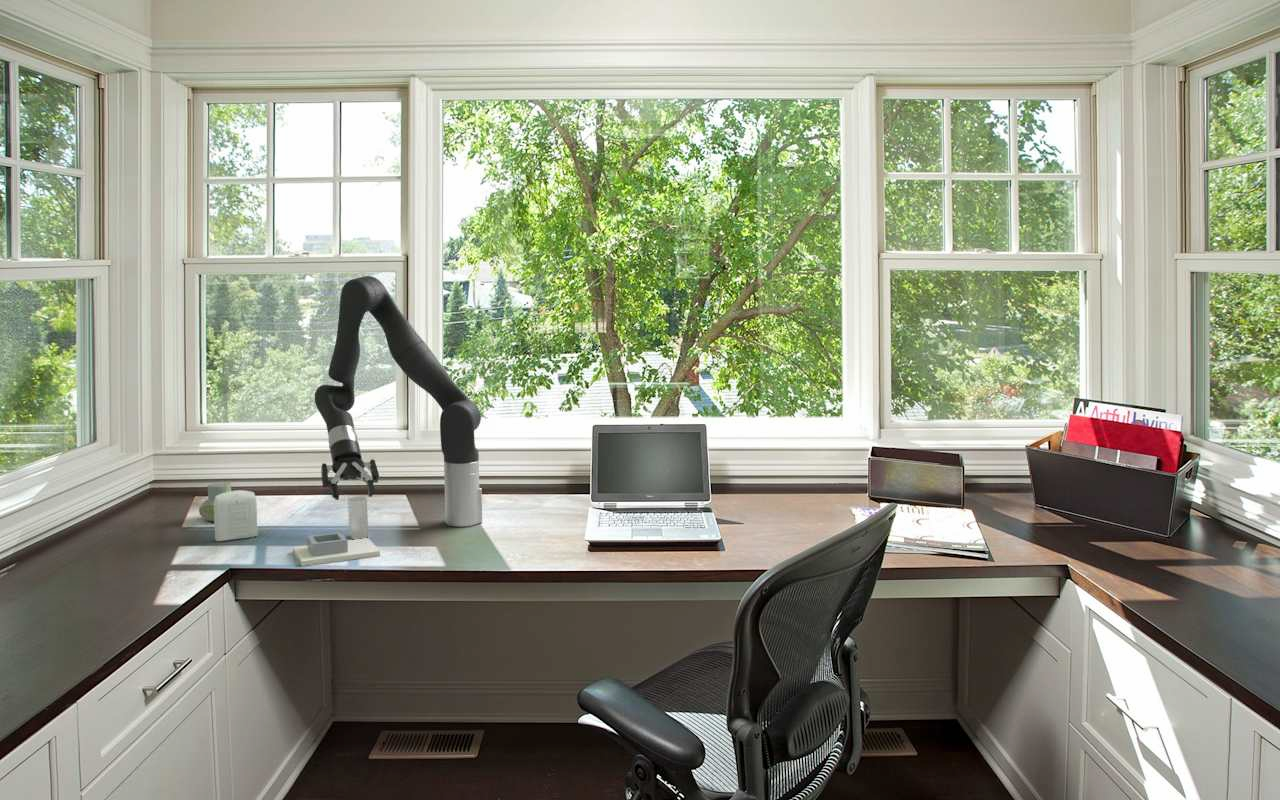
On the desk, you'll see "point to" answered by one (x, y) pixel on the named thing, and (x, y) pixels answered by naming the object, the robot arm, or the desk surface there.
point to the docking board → (333, 549)
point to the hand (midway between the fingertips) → (354, 496)
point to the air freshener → (213, 499)
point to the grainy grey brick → (358, 517)
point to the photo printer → (235, 515)
